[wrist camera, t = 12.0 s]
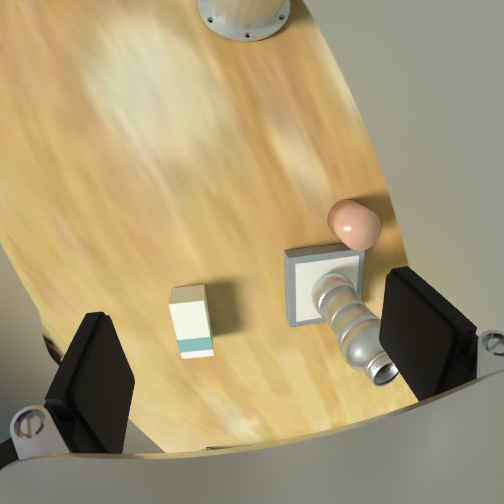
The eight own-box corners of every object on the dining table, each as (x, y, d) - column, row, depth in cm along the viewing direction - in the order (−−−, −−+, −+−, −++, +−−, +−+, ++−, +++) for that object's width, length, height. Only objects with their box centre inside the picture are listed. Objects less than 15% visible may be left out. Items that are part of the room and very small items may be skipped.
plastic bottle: (355, 279, 49) (424, 358, 30) (329, 313, 50) (384, 400, 32) (325, 260, 47) (391, 340, 28) (298, 296, 48) (347, 389, 30)
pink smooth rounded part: (327, 200, 47) (342, 211, 41) (363, 197, 47) (381, 207, 42) (327, 238, 49) (342, 253, 44) (362, 234, 50) (379, 248, 44)
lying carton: (171, 287, 49) (168, 304, 44) (204, 284, 49) (204, 300, 45) (183, 339, 53) (181, 358, 48) (213, 336, 53) (214, 355, 48)
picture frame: (283, 250, 49) (288, 258, 46) (356, 241, 50) (365, 248, 47) (286, 317, 53) (290, 327, 51) (352, 306, 54) (359, 315, 52)
